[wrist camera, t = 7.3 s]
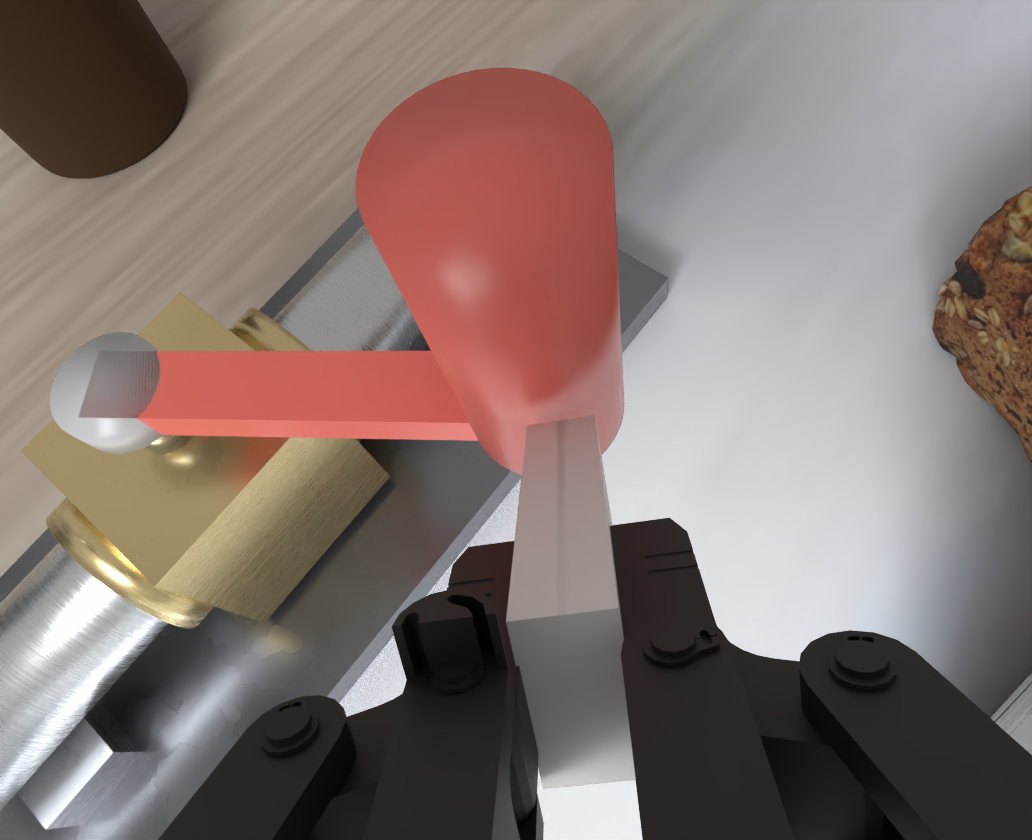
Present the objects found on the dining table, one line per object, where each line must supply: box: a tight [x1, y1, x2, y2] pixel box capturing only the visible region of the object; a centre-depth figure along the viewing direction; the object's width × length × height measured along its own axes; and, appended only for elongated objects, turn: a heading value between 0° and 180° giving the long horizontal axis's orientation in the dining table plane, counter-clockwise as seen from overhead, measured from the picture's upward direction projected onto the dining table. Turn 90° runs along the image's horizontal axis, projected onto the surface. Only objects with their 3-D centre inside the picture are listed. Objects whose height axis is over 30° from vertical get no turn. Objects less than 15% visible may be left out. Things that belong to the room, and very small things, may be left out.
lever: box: [50, 68, 624, 475], centre depth 17 cm, size 16×4×9 cm, turn 86°
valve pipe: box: [0, 208, 668, 840], centre depth 27 cm, size 34×14×11 cm, turn 141°
